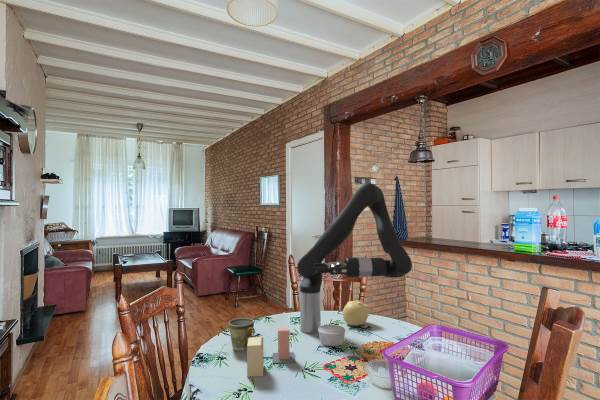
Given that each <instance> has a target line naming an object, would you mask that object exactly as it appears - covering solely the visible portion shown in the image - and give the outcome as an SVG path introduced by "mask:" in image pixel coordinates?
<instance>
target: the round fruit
mask: <svg viewBox="0 0 600 400" xmlns="http://www.w3.org/2000/svg"><path fill="white" fill-rule="evenodd" d="M369 316H370V306H369V305H368V304H366V303H363V302H362V301H361V300H349V301H347V302H346V305H344V308H343V310H342V318H343V320H344V322H345V323H346V324H347V325H349V326H363V325H364V324H366V322H367V320H368V318H369Z"/></svg>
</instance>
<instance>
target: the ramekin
mask: <svg viewBox="0 0 600 400" xmlns="http://www.w3.org/2000/svg"><path fill="white" fill-rule="evenodd" d="M317 333H318V335H319V336H318V337H319V341H320V343H321V344H323V346H327V347H328V346H329V347H338V346H340V345H342V344H343V343H344V341H345V334H346V328H345V327H343V326H342V325H337V324H323V325H321V327H319V328H318V332H317Z"/></svg>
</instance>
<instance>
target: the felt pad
mask: <svg viewBox="0 0 600 400" xmlns="http://www.w3.org/2000/svg"><path fill="white" fill-rule="evenodd" d="M289 352H290V351H289ZM275 364H276V365H277V364H296V357H295V352H294V351H291V352H290V359H278V352H272V365H275Z"/></svg>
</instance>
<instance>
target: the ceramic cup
mask: <svg viewBox="0 0 600 400" xmlns="http://www.w3.org/2000/svg"><path fill="white" fill-rule="evenodd" d="M254 327H255V319H252V318H249V317H238V318H233V319H230V320H229V321H228V329H229V330H228V331H229V334H230V340H231V341H230V342H231V346H232V349H233V350H234V349H235V351H237V350H244V351H247V350H246V349H247V344H248V338H252V337H254V335H255V333H256V330H255V328H254Z"/></svg>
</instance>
